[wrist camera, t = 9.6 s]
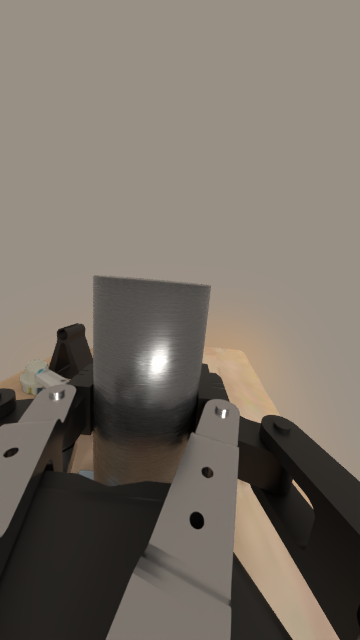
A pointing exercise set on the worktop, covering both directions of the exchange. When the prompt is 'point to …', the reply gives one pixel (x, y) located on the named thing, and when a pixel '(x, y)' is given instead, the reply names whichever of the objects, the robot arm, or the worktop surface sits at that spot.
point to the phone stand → (70, 351)
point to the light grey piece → (39, 377)
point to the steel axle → (145, 375)
